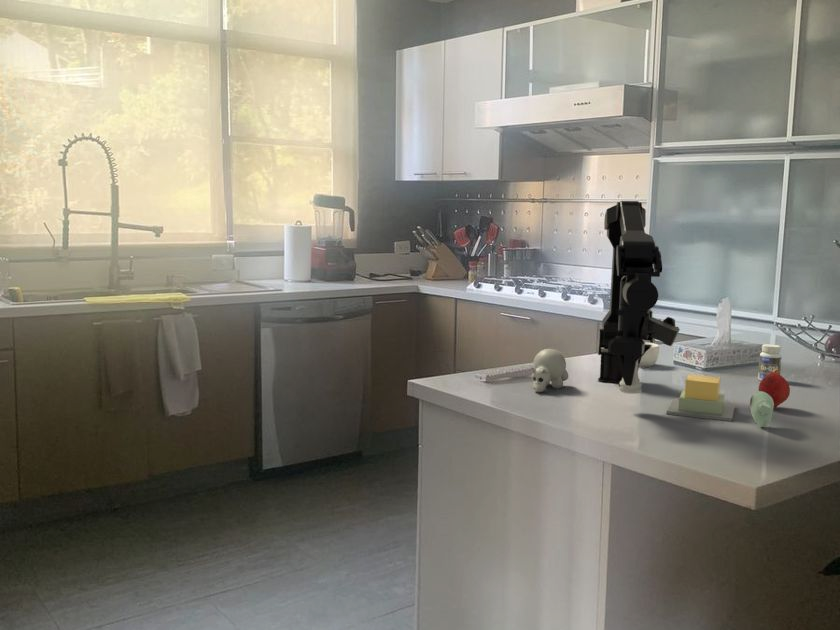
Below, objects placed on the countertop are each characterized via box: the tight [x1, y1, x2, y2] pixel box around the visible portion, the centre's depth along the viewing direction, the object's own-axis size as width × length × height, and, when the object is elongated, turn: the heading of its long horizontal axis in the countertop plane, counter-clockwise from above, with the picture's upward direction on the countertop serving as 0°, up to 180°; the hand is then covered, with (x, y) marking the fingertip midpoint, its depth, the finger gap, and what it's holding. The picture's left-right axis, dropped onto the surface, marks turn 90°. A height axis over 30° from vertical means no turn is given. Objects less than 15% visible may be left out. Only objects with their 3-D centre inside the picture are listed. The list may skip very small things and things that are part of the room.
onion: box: [757, 369, 791, 409], centre depth 163 cm, size 6×6×8 cm
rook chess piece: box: [618, 359, 643, 395], centre depth 158 cm, size 4×4×8 cm
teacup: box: [639, 342, 660, 368], centre depth 206 cm, size 10×8×5 cm
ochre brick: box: [684, 374, 721, 401], centre depth 160 cm, size 6×6×4 cm
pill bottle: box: [757, 343, 782, 382], centre depth 190 cm, size 5×5×8 cm
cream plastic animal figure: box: [530, 348, 569, 393], centre depth 178 cm, size 7×12×8 cm, turn 145°
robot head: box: [749, 390, 775, 428], centre depth 149 cm, size 8×4×7 cm, turn 157°
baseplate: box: [666, 389, 736, 422], centre depth 160 cm, size 12×12×3 cm
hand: (630, 383), depth 159 cm, fingers closed on rook chess piece, 4 cm apart
